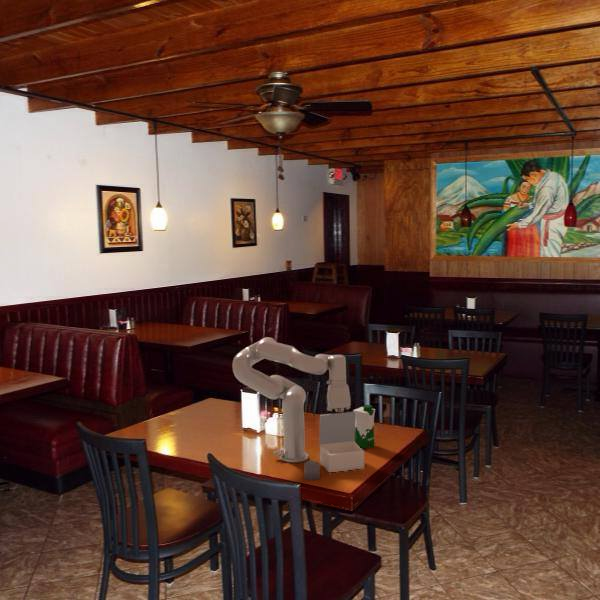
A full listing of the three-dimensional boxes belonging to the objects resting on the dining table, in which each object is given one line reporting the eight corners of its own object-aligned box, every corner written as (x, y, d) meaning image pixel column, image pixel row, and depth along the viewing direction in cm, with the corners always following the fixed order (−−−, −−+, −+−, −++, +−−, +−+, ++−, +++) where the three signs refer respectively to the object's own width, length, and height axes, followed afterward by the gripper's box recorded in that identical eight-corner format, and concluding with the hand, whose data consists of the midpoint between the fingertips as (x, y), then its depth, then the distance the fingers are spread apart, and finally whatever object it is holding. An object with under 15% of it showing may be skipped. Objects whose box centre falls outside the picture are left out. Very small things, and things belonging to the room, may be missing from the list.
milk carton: (367, 450, 289) (366, 409, 287) (351, 446, 295) (350, 406, 293) (377, 445, 296) (376, 404, 294) (361, 441, 302) (361, 401, 300)
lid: (320, 415, 271) (320, 414, 272) (319, 444, 275) (319, 443, 276) (355, 412, 275) (355, 411, 276) (354, 441, 279) (353, 440, 280)
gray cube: (306, 481, 255) (306, 467, 254) (302, 475, 261) (302, 461, 260) (321, 479, 256) (321, 465, 256) (317, 473, 262) (317, 460, 262)
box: (328, 473, 262) (328, 455, 262) (320, 461, 276) (319, 444, 275) (364, 469, 266) (364, 451, 265) (354, 458, 280) (353, 441, 279)
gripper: (324, 385, 270) (325, 426, 271) (356, 382, 273) (357, 422, 275) (319, 382, 277) (320, 421, 279) (351, 379, 280) (352, 418, 282)
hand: (339, 422), depth 277 cm, fingers closed
